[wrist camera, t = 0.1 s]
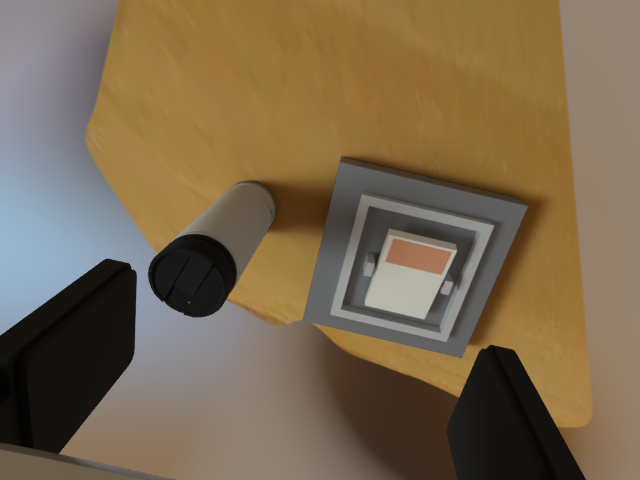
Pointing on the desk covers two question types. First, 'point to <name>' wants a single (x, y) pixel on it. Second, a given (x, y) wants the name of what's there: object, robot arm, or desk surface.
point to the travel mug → (213, 251)
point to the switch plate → (420, 219)
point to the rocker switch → (409, 273)
